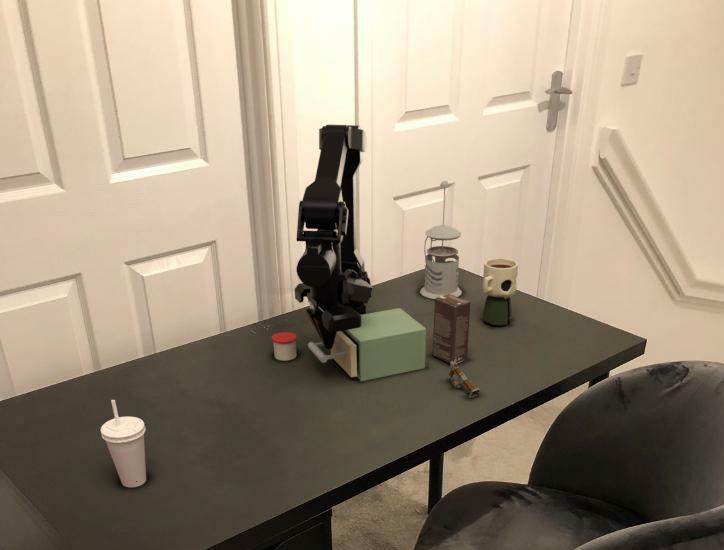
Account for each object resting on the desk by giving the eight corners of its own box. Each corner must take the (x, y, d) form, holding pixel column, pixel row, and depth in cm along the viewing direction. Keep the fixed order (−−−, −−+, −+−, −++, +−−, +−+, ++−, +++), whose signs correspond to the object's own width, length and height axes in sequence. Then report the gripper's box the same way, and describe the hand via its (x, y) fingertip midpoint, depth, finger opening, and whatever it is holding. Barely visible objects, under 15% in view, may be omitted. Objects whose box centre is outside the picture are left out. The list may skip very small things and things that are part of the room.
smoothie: (116, 470, 130) (98, 391, 122) (158, 468, 130) (142, 389, 122) (109, 493, 124) (89, 411, 116) (152, 491, 125) (135, 409, 117)
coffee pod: (268, 356, 164) (266, 337, 162) (285, 348, 167) (284, 330, 165) (285, 363, 161) (283, 344, 159) (302, 355, 164) (301, 336, 162)
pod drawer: (324, 383, 152) (323, 351, 149) (305, 361, 160) (303, 330, 156) (411, 365, 158) (411, 334, 155) (388, 345, 166) (388, 315, 163)
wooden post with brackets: (448, 374, 155) (456, 357, 151) (472, 404, 152) (480, 388, 148) (441, 376, 154) (448, 360, 151) (465, 407, 151) (473, 390, 147)
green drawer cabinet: (360, 381, 155) (360, 341, 150) (338, 357, 163) (336, 319, 159) (425, 368, 159) (426, 329, 155) (399, 345, 168) (399, 307, 163)
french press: (433, 302, 187) (436, 188, 173) (408, 286, 196) (410, 177, 182) (469, 295, 191) (476, 183, 177) (444, 279, 200) (448, 171, 185)
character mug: (495, 334, 173) (499, 273, 165) (468, 325, 177) (471, 265, 169) (524, 318, 179) (530, 260, 172) (498, 310, 183) (502, 252, 176)
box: (468, 359, 162) (471, 301, 156) (451, 366, 160) (454, 307, 153) (447, 349, 166) (450, 292, 159) (431, 355, 164) (432, 298, 157)
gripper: (388, 277, 142) (388, 360, 151) (346, 246, 156) (349, 323, 165) (328, 287, 138) (331, 371, 147) (291, 254, 152) (296, 333, 161)
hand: (328, 348), depth 155 cm, fingers closed
